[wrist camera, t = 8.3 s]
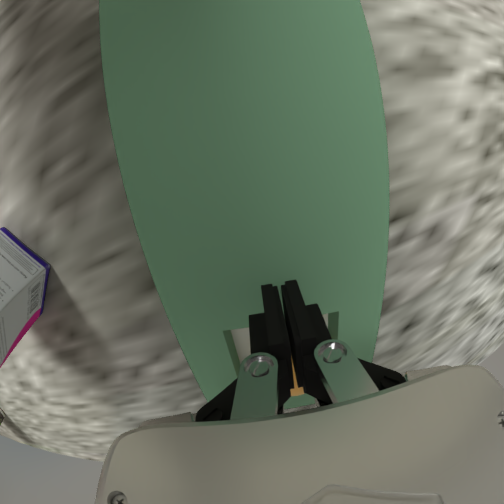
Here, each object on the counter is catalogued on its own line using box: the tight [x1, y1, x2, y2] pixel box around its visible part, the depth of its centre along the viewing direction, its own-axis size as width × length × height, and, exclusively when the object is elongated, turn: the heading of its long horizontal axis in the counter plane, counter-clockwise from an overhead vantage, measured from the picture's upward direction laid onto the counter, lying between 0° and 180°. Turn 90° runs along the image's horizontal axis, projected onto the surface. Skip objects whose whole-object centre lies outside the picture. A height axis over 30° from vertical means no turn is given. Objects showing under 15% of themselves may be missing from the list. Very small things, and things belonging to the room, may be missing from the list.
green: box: [99, 0, 389, 409], centre depth 13 cm, size 30×12×2 cm, turn 9°
